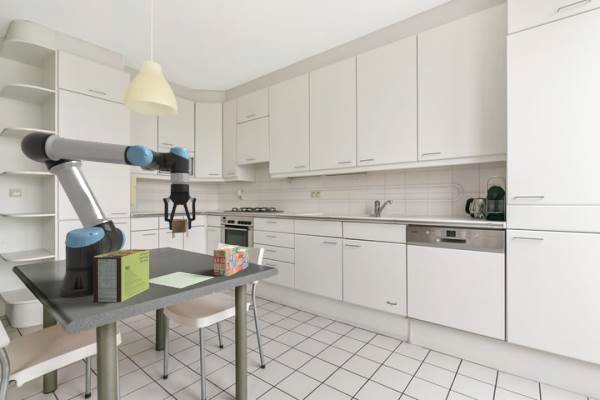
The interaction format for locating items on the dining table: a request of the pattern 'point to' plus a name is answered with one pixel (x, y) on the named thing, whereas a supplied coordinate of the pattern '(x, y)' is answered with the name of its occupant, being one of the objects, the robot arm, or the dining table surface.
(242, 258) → the multicolored rectangular box
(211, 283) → the dining table surface
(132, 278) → the protein box
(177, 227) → the walnut block
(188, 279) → the sage board
